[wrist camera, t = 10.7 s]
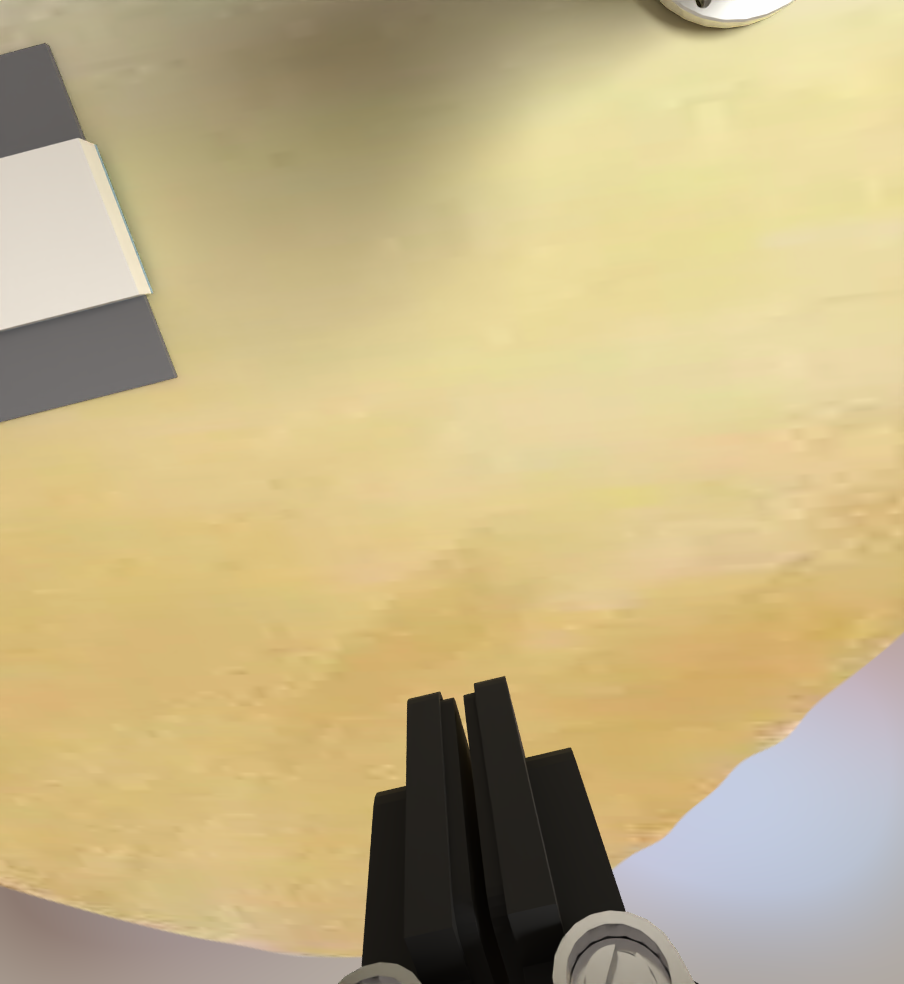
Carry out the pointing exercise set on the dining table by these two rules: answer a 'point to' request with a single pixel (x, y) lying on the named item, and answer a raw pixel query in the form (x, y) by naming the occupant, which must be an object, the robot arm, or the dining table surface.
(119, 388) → the mat
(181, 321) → the dining table surface
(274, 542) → the dining table surface
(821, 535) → the dining table surface
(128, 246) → the tile
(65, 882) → the dining table surface
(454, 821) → the robot arm
